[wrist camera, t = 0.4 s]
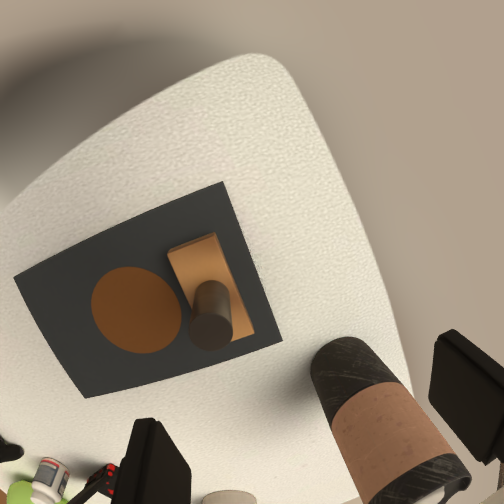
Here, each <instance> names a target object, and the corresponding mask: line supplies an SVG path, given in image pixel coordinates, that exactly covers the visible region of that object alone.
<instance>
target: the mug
mask: <svg viewBox="0 0 504 504" xmlns="http://www.w3.org/2000/svg"><path fill="white" fill-rule="evenodd" d="M203 504H257V502H256V498H255V497H254V496H253V495H251V494H249V493H247V492H243V491H235V490H225V491H218V492H214V493H211V494H209V495H207V496H205V497H204V499H203Z"/></svg>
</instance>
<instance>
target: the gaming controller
mask: <svg viewBox="0 0 504 504" xmlns="http://www.w3.org/2000/svg"><path fill="white" fill-rule="evenodd" d="M23 455H24V451H23V449H22V448H21V447H19V446H17V445H6V444H5V443H4V441H3V440H2V438H0V463H2V462H7V461H14V460H17V459H19V458H21V457H22V456H23Z"/></svg>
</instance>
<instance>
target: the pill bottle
mask: <svg viewBox="0 0 504 504" xmlns="http://www.w3.org/2000/svg"><path fill="white" fill-rule="evenodd" d="M69 476H70V473H69V471H68V469H67V468H66V467H65V466H64V465H62V464H61V463H59V462H58V461H56V460H53V459H51V458H43V459H42V461H41V463H40V465H39V468H38V470H37V472H36V474H35V477H34V479H33V481H32V489H33V490H34V492H32V495H31V498H30V499H31V501H32V502H33V503H34V504H55V503H57V502H60V501H61V499H62V496H63V493H64V491H65V488H66V485H67V482H68V479H69Z"/></svg>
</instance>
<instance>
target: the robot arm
mask: <svg viewBox="0 0 504 504" xmlns="http://www.w3.org/2000/svg"><path fill="white" fill-rule="evenodd" d="M428 398H429V401H430V403H431V405H432V406H433V407H434V409H435V410H436V411H437V412H438V413H439V414H440V416H441V417H442V418H443V419H444V421H445V422H446V423H447V424H448V425H449V427H450V428H451V429H452V430H453V432H454V433H455V434H456V435H457V437H458V438H459V439H460V440H461V441H462V443H463V444H464V445H465V446H466V448H467V449H468V450H469V451H470V453H471V454H472V455H473V456H474V458H475V459H476V460H477V461H479V462H481V461H482V462H483V463H484V465H485V466H486V465H487V464H489V463H490V462H491V461H493V460H494V459H496V458H498V459H499V460H500V462H501V464H500V473H499V481H498V487H497V491H496V492H495V493H494V494H492V495H491V496H490V497H488V498H487V499H486V500H484V501H483V502H481V503H480V504H504V368H503V367H502V366H501V365H500V364H498V363H497V362H496V361H494V360H493V359H492V358H491V357H490V356H488V355H487V354H486V353H485V352H483V351H482V350H481V349H480V348H478V347H477V346H476V345H474V344H473V343H472V342H470V341H469V340H468V339H467V338H465V337H464V336H463V335H461V334H460V333H459V332H458V331H456V330H454V329H451V330H449V331H447V332H445V333H443V334H441V335H439V336H438V338H437V341H436V342H435V344H434V355H433V366H432V373H431V381H430V389H429V395H428ZM191 477H192V475H191V469H190V467H189V465H188V464H187V462H186V461H185V459H184V458H183V456H182V455H181V453H180V452H179V450H178V449H177V447H176V446H175V444H174V443H173V441H172V439H171V438H170V436H169V435H168V433H167V431H166V430H165V428H164V427H163V425H162V423H161V422H160V421H156V420H155V419H154V418H143V419H136V420H135V422H134V425H133V429H132V433H131V436H130V440H129V444H128V448H127V452H126V456H125V457H124V458H123V459H122V460H121V463H120V467H119V470H118V474H117V478H116V483H115V487H114V491H113V495H112V500H111V504H191Z"/></svg>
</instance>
